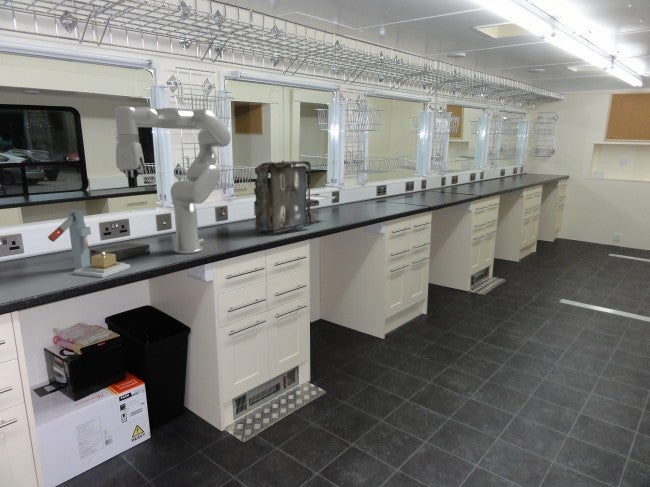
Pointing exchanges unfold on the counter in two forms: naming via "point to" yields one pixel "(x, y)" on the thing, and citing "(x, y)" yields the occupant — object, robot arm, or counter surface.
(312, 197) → the solar panel model
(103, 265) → the housing
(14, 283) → the counter surface
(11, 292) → the counter surface
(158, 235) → the counter surface
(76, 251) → the press
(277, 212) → the machinery component
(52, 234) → the lever
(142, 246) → the stone block
